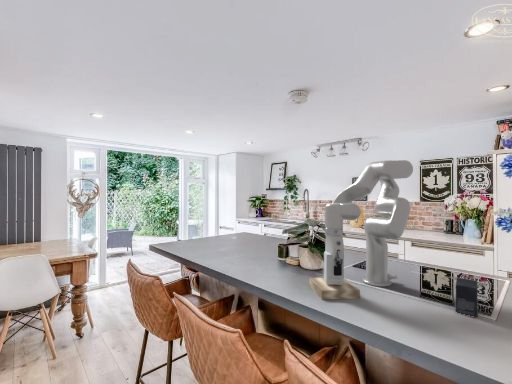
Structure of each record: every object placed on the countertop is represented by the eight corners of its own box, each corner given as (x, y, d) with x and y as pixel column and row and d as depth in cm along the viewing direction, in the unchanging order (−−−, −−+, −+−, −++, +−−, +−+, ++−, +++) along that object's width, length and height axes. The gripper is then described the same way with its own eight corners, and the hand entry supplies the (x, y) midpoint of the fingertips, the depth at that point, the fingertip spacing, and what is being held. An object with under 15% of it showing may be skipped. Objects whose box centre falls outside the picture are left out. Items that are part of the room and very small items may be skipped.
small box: (455, 303, 104) (456, 276, 104) (477, 308, 99) (477, 280, 99) (454, 312, 95) (454, 283, 95) (478, 318, 91) (478, 287, 91)
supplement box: (344, 285, 111) (344, 255, 111) (326, 284, 111) (326, 254, 112) (340, 279, 118) (340, 251, 118) (323, 278, 119) (323, 250, 119)
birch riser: (342, 284, 123) (342, 277, 123) (359, 298, 108) (359, 289, 108) (309, 285, 122) (309, 277, 122) (321, 299, 106) (321, 290, 106)
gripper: (351, 235, 107) (351, 278, 107) (334, 229, 124) (333, 266, 124) (333, 235, 106) (333, 279, 106) (318, 229, 123) (318, 266, 123)
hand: (333, 272), depth 115 cm, fingers closed on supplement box, 8 cm apart
